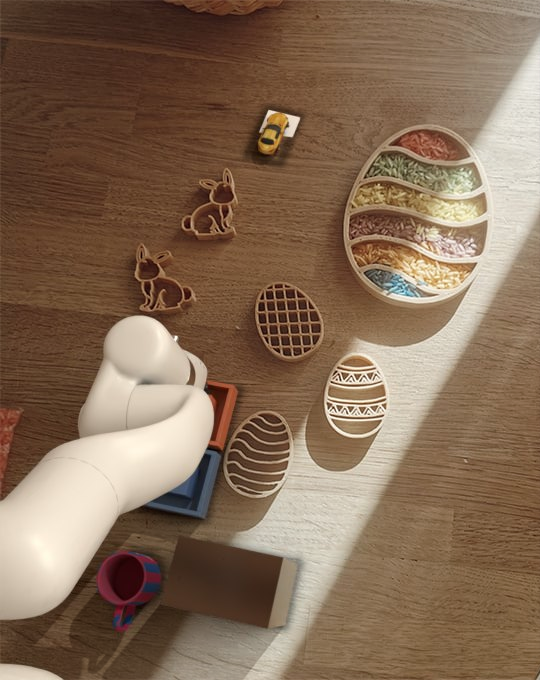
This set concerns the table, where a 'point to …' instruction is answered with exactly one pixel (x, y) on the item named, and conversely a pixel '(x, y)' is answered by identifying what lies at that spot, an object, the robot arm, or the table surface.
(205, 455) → the slate bin
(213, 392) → the terracotta bin
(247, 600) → the stand
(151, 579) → the mug
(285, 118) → the toy car
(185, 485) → the blue cube
